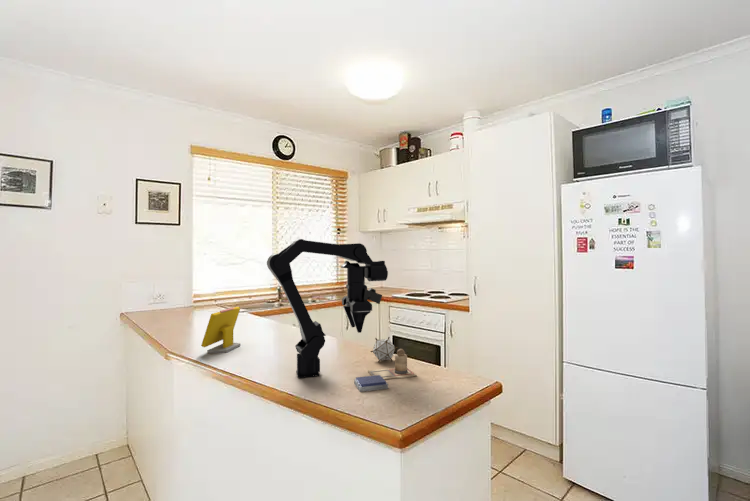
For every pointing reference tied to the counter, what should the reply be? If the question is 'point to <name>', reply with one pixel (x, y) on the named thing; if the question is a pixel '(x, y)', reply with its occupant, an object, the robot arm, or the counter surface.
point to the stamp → (401, 362)
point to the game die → (383, 349)
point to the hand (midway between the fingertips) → (356, 329)
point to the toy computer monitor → (221, 330)
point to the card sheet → (390, 373)
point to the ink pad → (370, 383)
